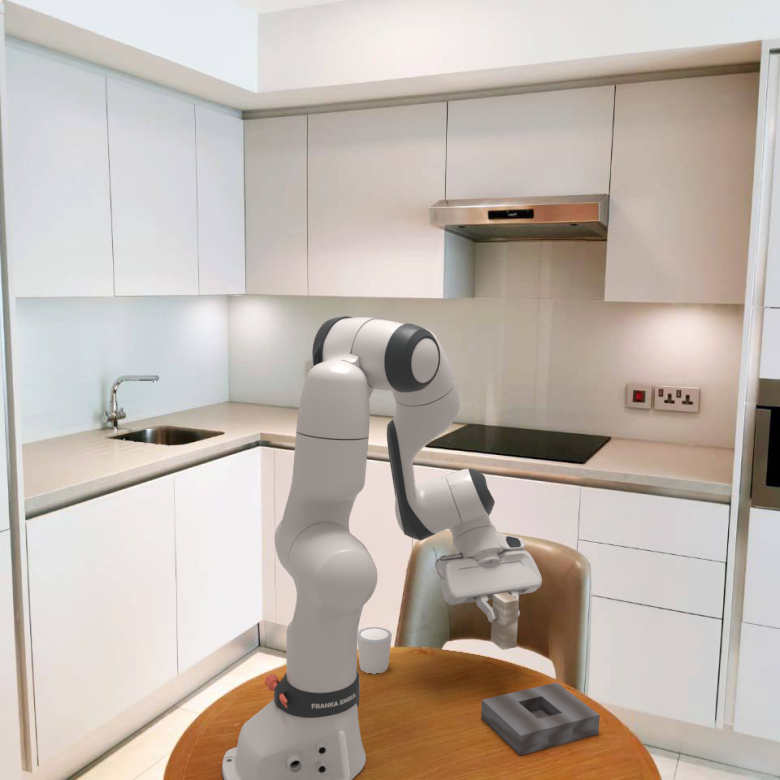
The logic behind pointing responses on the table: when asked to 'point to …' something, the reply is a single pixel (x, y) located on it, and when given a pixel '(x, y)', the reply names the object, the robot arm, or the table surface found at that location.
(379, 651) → the white cup
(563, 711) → the slot holder
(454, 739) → the table surface
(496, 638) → the peg
